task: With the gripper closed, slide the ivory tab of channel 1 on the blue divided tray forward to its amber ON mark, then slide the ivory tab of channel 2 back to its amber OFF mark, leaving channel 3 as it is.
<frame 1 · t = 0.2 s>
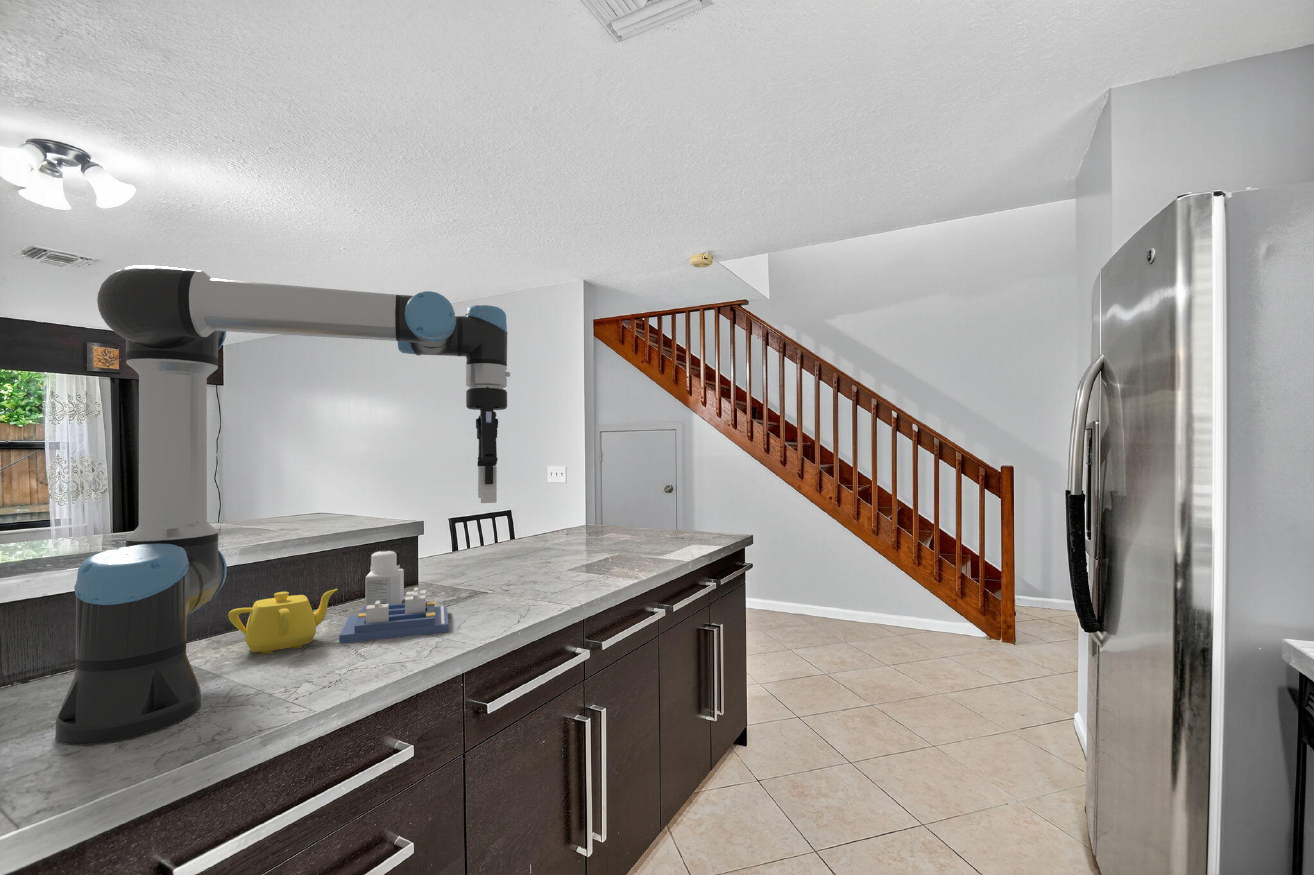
hand: (486, 500, 113), 28 cm above the countertop, fingers open, 13 cm apart
blue divided tray: (397, 626, 127), on the countertop
teapot: (285, 646, 115), on the countertop
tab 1: (377, 614, 121), point 4 cm above the countertop, slide at 0.0 cm
tab 2: (415, 605, 128), point 4 cm above the countertop, slide at 7.0 cm
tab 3: (416, 599, 133), point 4 cm above the countertop, slide at 7.0 cm
container: (385, 605, 146), on the countertop
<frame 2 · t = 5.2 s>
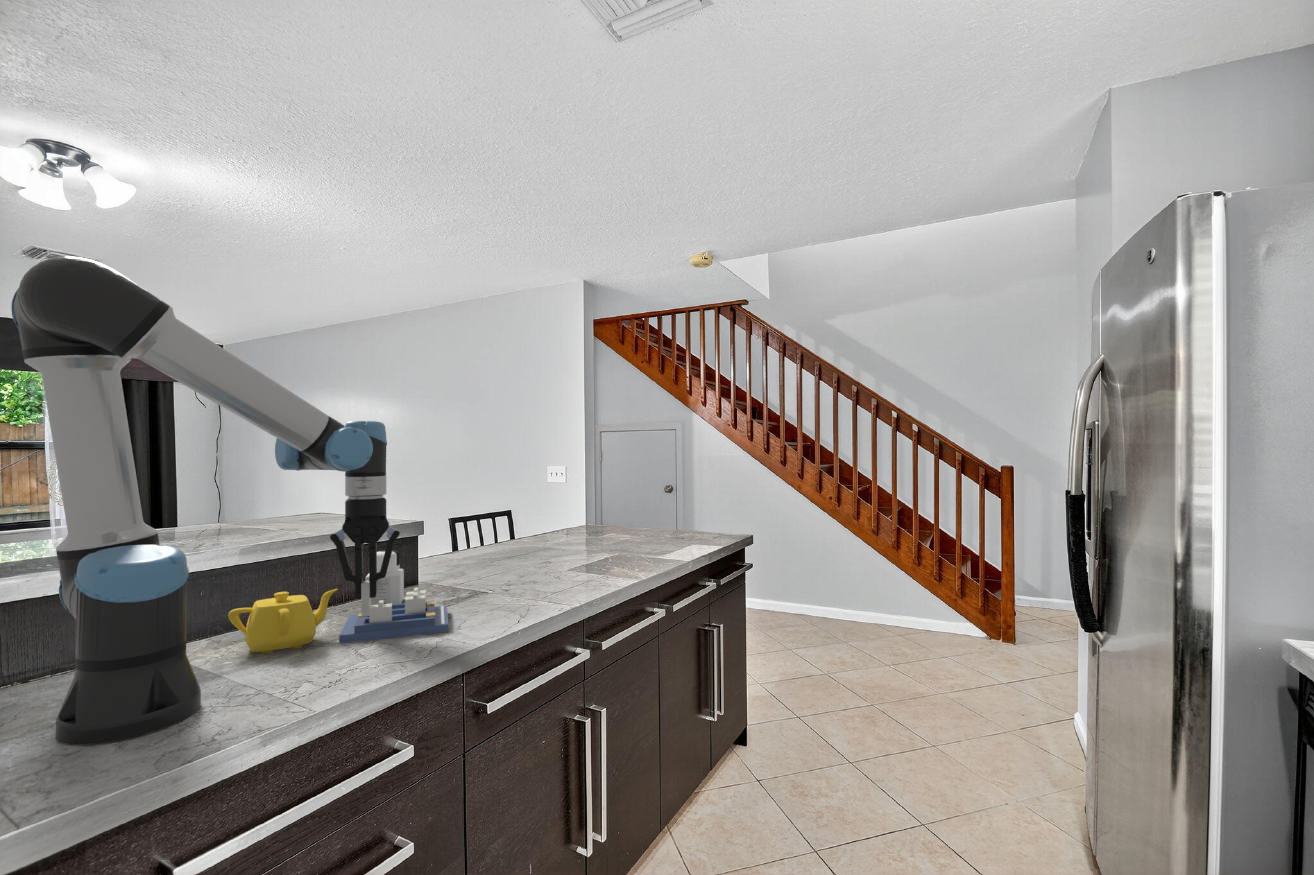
hand: (366, 614, 121), 4 cm above the countertop, fingers closed
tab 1: (380, 613, 121), point 4 cm above the countertop, slide at 0.6 cm, touching gripper
everything else where it was.
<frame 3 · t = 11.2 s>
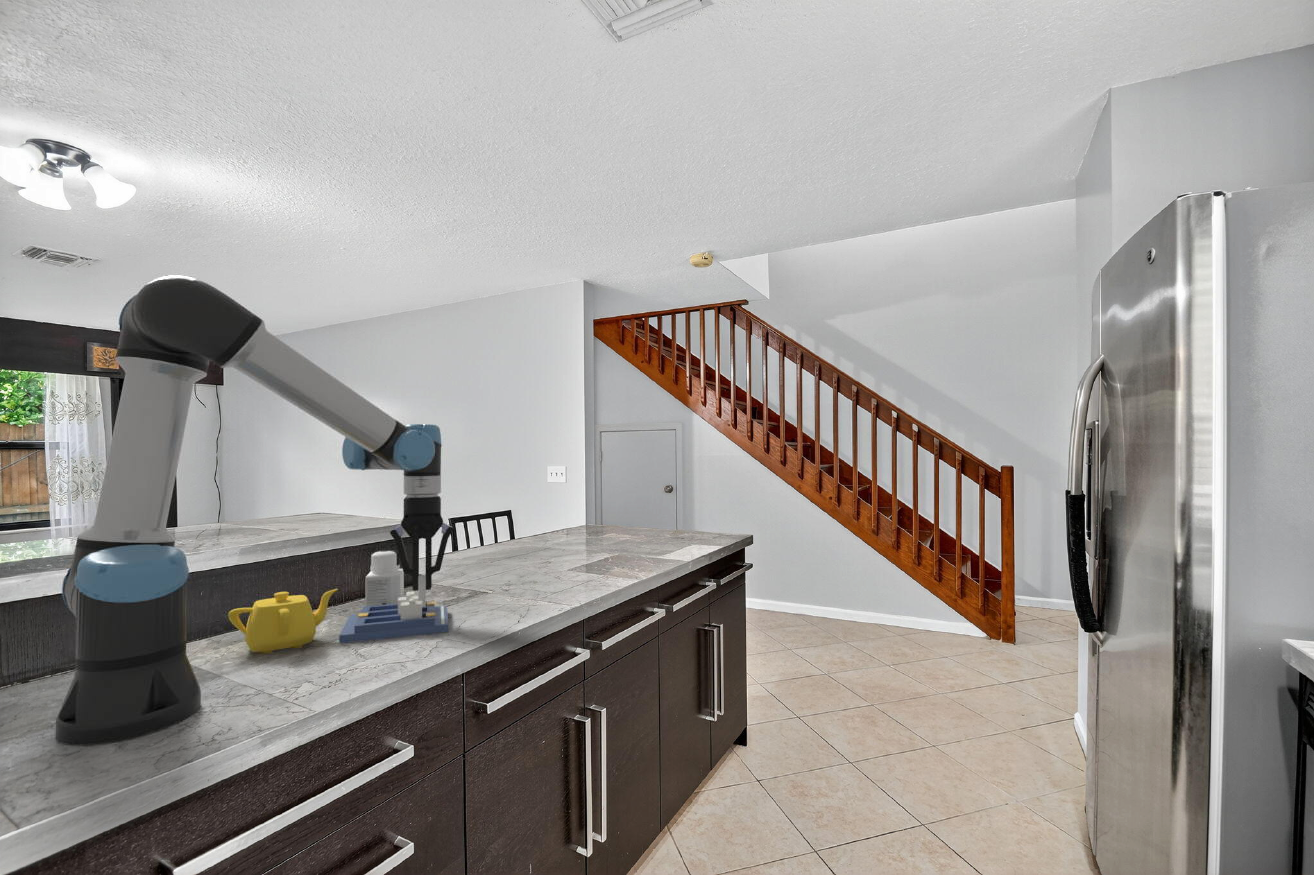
hand: (422, 605, 129), 4 cm above the countertop, fingers closed
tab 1: (411, 611, 123), point 4 cm above the countertop, slide at 6.4 cm
tab 2: (408, 605, 128), point 4 cm above the countertop, slide at 5.6 cm, touching gripper
everything else where it was.
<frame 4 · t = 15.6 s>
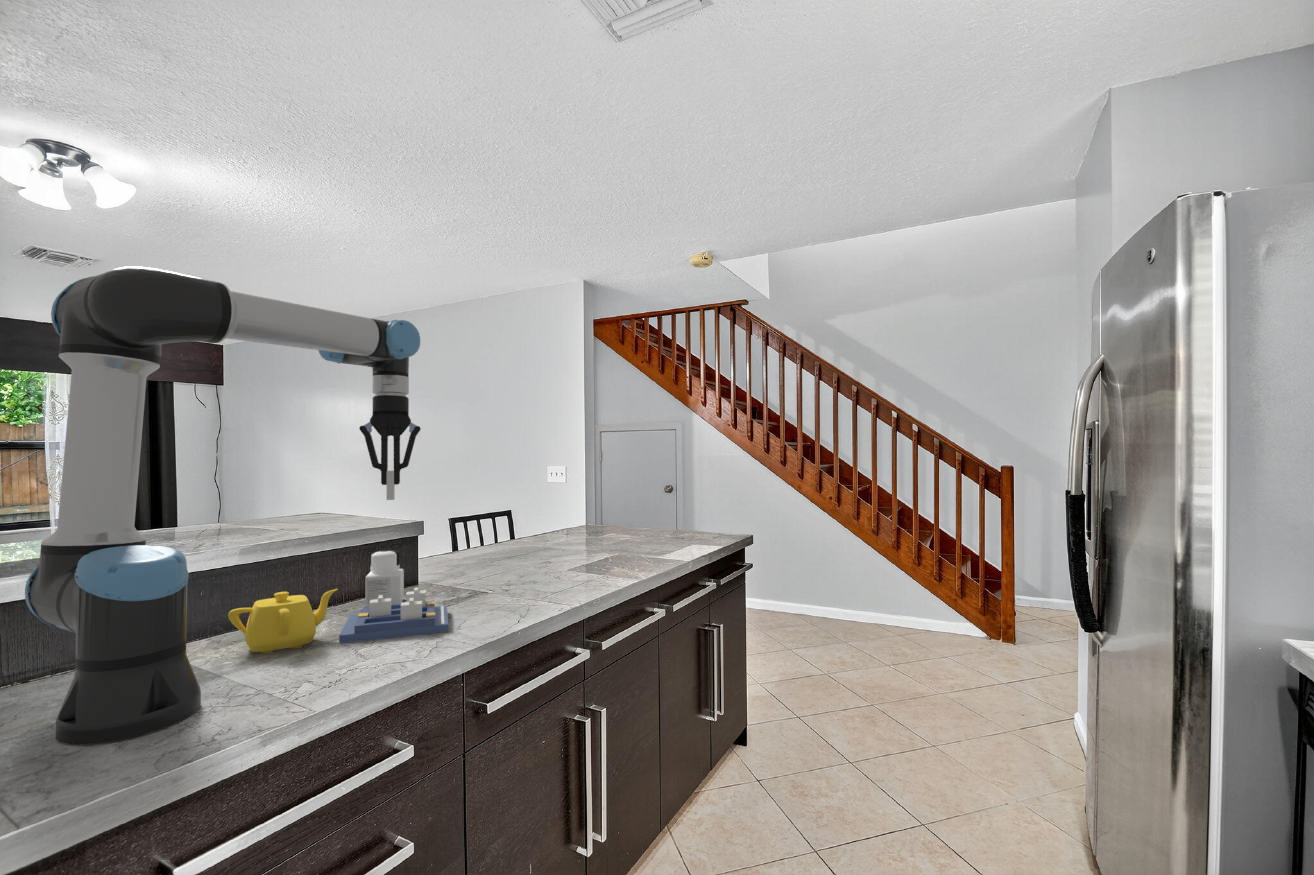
hand: (390, 499, 135), 26 cm above the countertop, fingers closed
tab 2: (380, 608, 126), point 4 cm above the countertop, slide at 0.2 cm
everything else where it was.
at the end: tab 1 slide at 6.4 cm; tab 2 slide at 0.2 cm; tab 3 slide at 7.0 cm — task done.
